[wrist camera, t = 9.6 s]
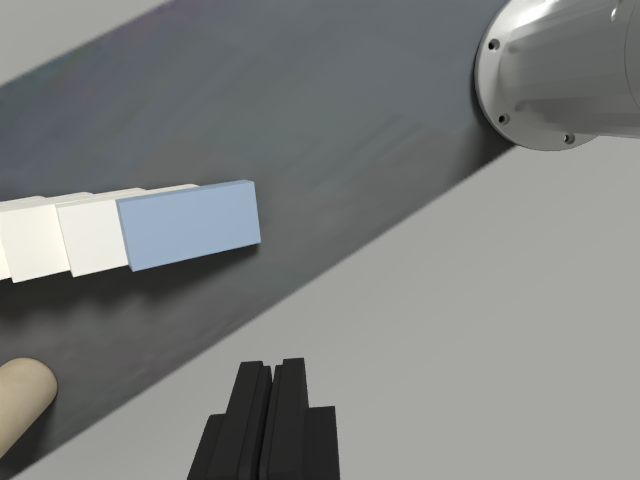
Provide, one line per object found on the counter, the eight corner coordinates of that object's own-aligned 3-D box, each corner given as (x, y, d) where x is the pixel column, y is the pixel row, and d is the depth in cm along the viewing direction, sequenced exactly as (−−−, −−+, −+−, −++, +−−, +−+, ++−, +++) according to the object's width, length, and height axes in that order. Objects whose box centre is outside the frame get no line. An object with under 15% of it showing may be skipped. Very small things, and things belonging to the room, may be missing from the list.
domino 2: (199, 186, 36) (56, 208, 31) (208, 246, 37) (73, 277, 32) (191, 183, 38) (54, 204, 32) (200, 241, 39) (70, 270, 34)
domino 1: (253, 181, 36) (118, 203, 31) (261, 242, 37) (132, 271, 32) (244, 179, 37) (114, 199, 33) (251, 237, 39) (128, 264, 34)
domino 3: (145, 189, 36) (-6, 213, 30) (156, 249, 37) (13, 283, 32) (138, 187, 38) (-8, 209, 32) (148, 245, 39) (11, 276, 33)
